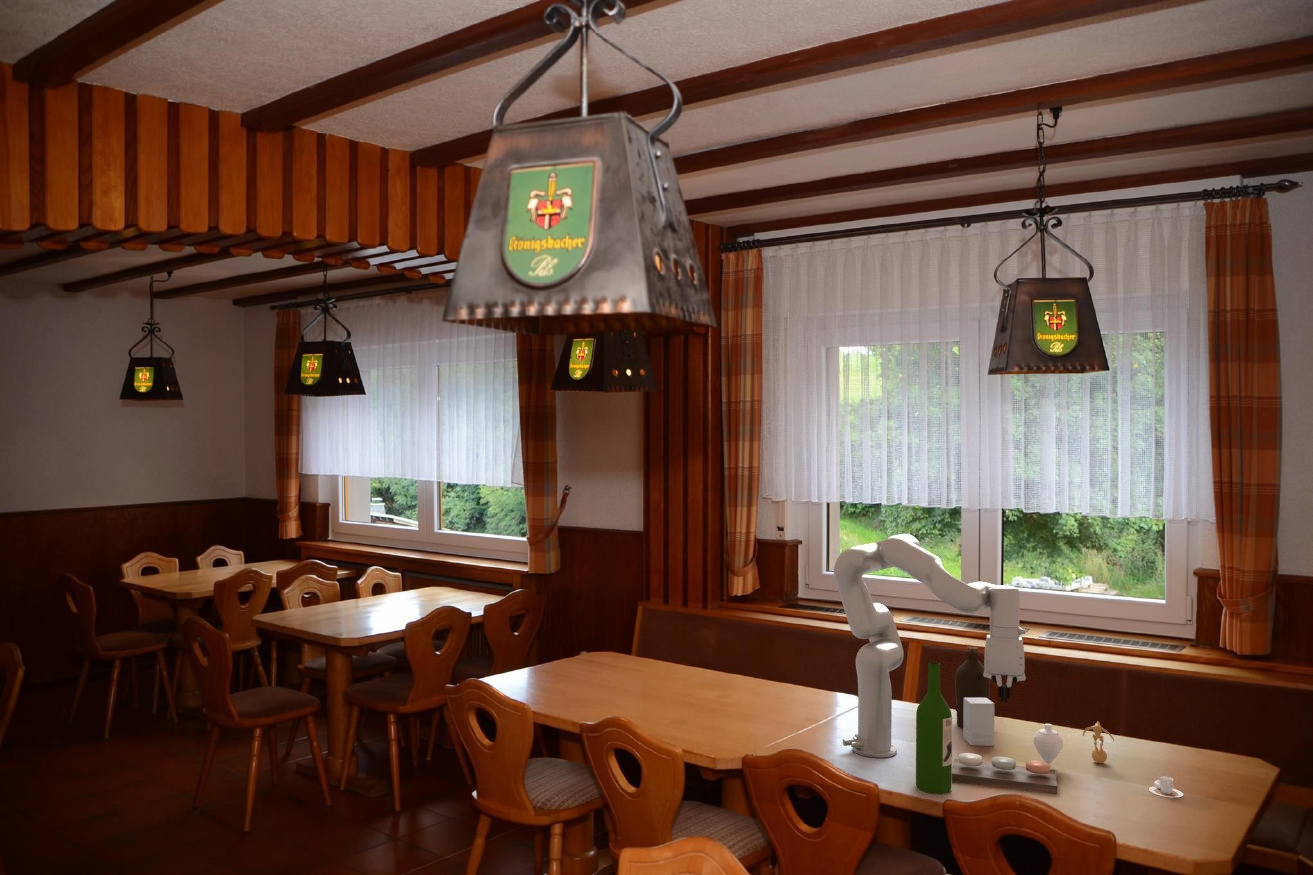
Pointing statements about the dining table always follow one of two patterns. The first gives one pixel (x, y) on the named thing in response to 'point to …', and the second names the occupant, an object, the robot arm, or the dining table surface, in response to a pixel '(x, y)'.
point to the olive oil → (970, 682)
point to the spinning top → (1048, 743)
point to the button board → (1004, 777)
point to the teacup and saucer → (1165, 787)
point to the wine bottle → (933, 738)
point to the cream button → (970, 759)
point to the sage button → (1003, 763)
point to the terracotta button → (1038, 767)
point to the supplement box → (978, 721)
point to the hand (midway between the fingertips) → (1004, 700)
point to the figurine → (1100, 754)
